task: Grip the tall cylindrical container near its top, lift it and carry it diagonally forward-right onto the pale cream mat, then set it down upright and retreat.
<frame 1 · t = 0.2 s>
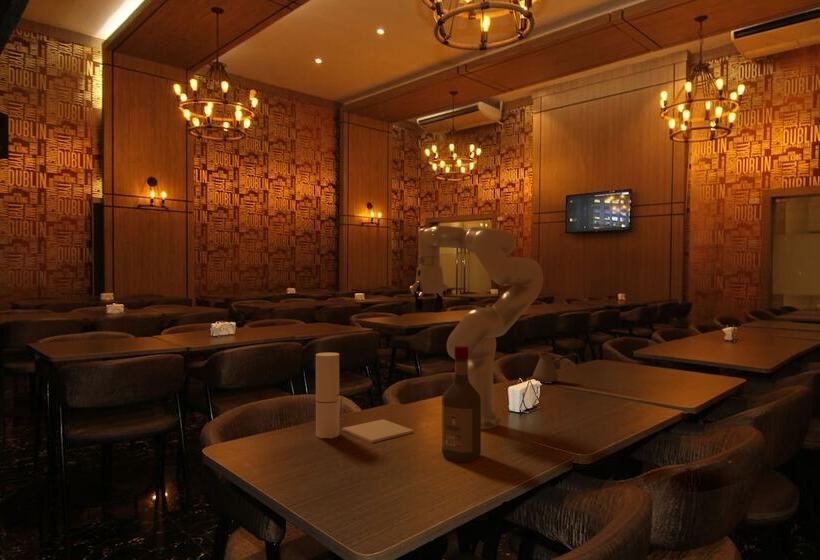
hand: (429, 309, 194), 37 cm above the table, tool pointing down, fingers open, 9 cm apart
liquor: (461, 457, 146), on the table
coffee pot: (555, 384, 242), on the table
mat: (377, 431, 169), on the table
cylindrical container: (327, 435, 166), on the table
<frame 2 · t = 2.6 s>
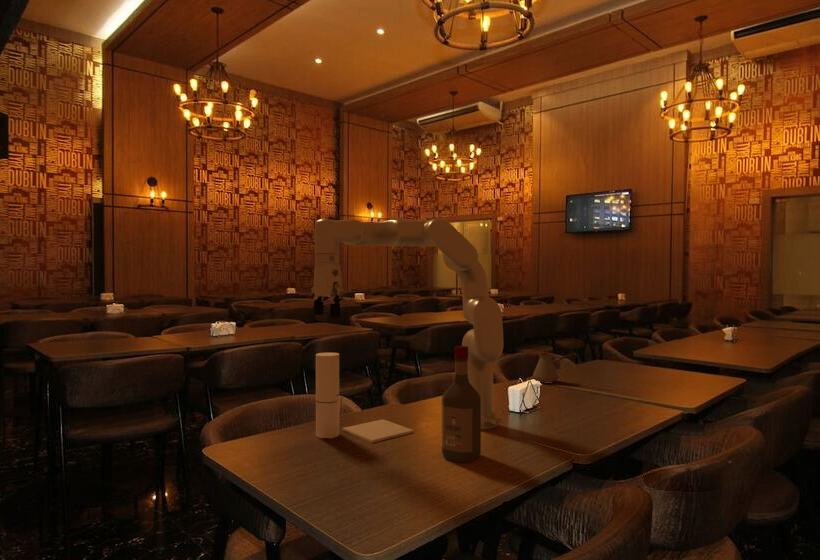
hand: (326, 315, 165), 37 cm above the table, tool pointing down, fingers open, 9 cm apart
nothing on the table moved.
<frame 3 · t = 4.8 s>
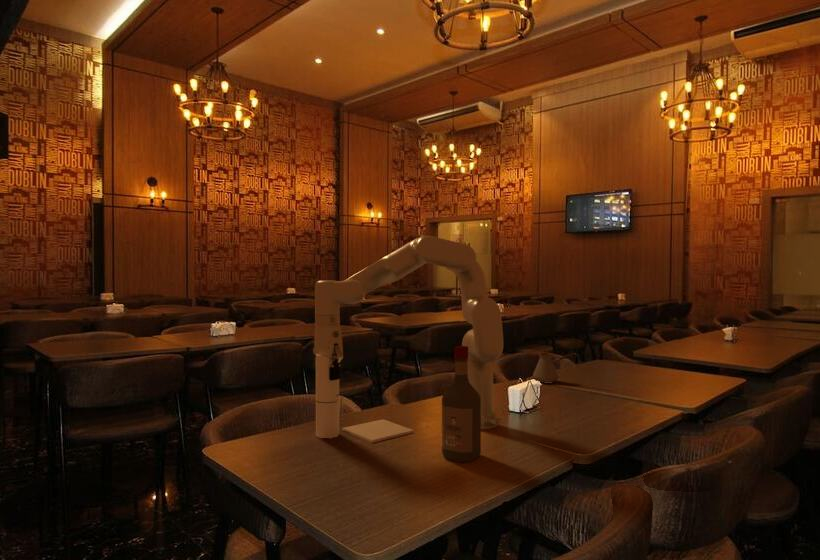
hand: (327, 377, 165), 18 cm above the table, tool pointing down, fingers closed on cylindrical container, 7 cm apart
cylindrical container: (327, 435, 166), on the table, touching gripper
everything else where it was.
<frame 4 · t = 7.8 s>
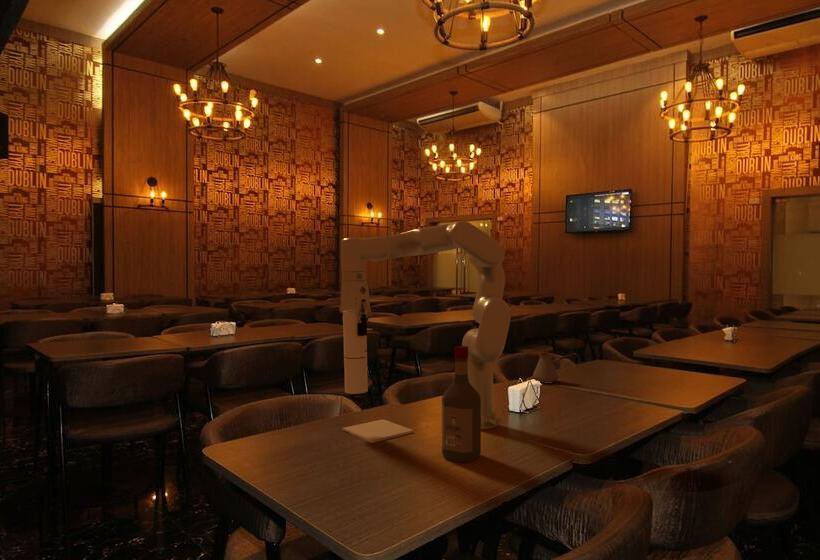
hand: (355, 334, 167), 31 cm above the table, tool pointing down, fingers closed on cylindrical container, 7 cm apart
cylindrical container: (356, 391, 167), point 13 cm above the table, touching gripper
everything else where it was.
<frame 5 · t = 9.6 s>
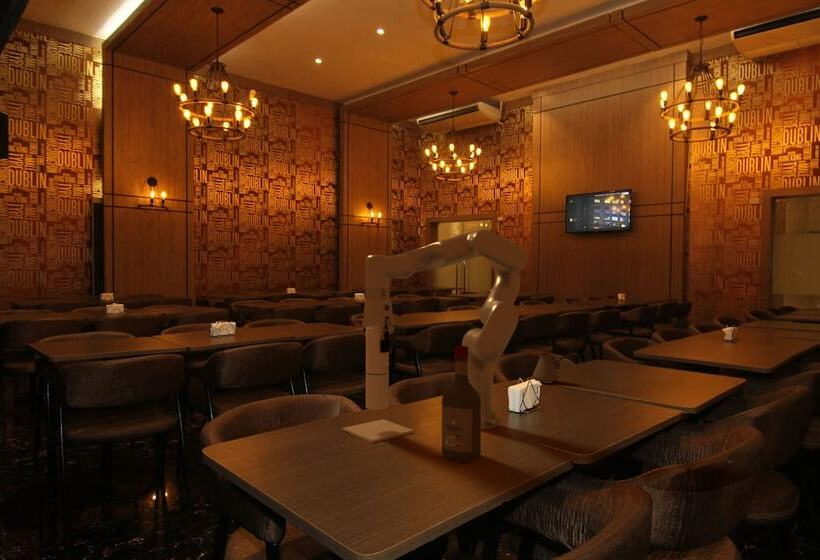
hand: (377, 350, 169), 26 cm above the table, tool pointing down, fingers closed on cylindrical container, 7 cm apart
cylindrical container: (377, 407, 169), point 8 cm above the table, touching gripper
everything else where it was.
when the fingers open (20 cm above the table, at t = 11.1 s): cylindrical container drops 1 cm, resting on mat.
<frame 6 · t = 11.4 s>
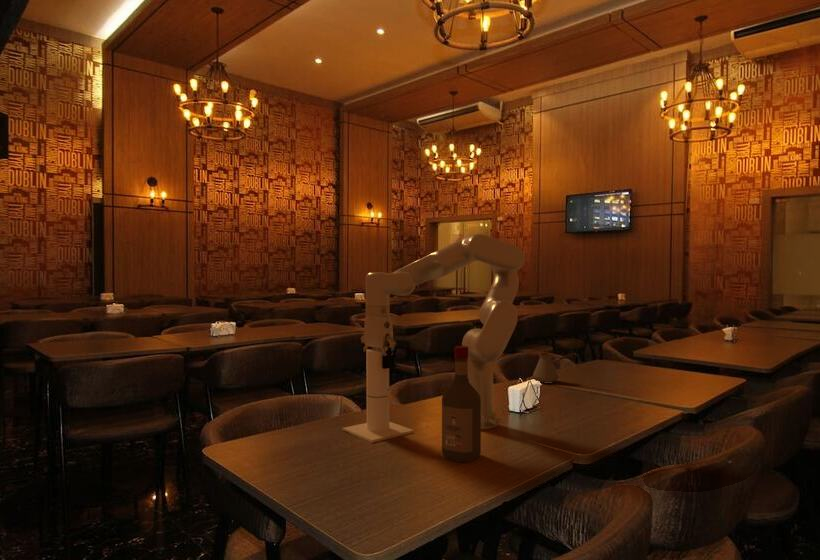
hand: (377, 365, 169), 21 cm above the table, tool pointing down, fingers open, 9 cm apart
cylindrical container: (378, 429, 169), point 1 cm above the table, touching mat
everything else where it was.
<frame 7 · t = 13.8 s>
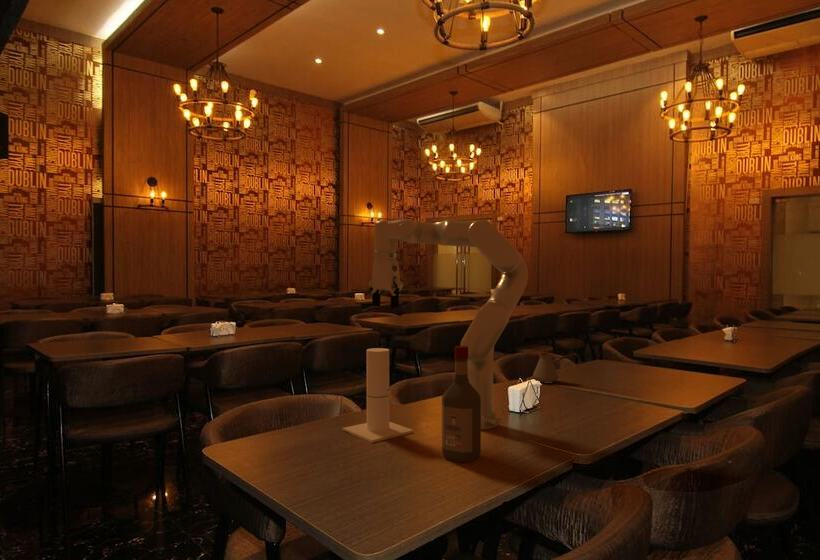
hand: (385, 307, 184), 38 cm above the table, tool pointing down, fingers open, 9 cm apart
nothing on the table moved.
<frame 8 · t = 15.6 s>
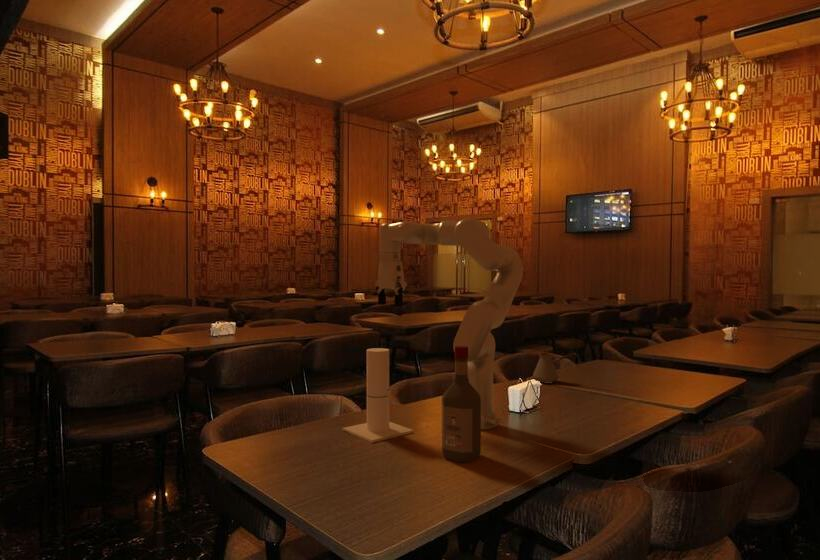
hand: (390, 305, 193), 38 cm above the table, tool pointing down, fingers open, 9 cm apart
nothing on the table moved.
at the end: cylindrical container inside the target area on the mat (0.2 cm from its centre), point 0.6 cm above the mat's base; cylindrical container tilted 0°; the gripper is holding nothing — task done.
